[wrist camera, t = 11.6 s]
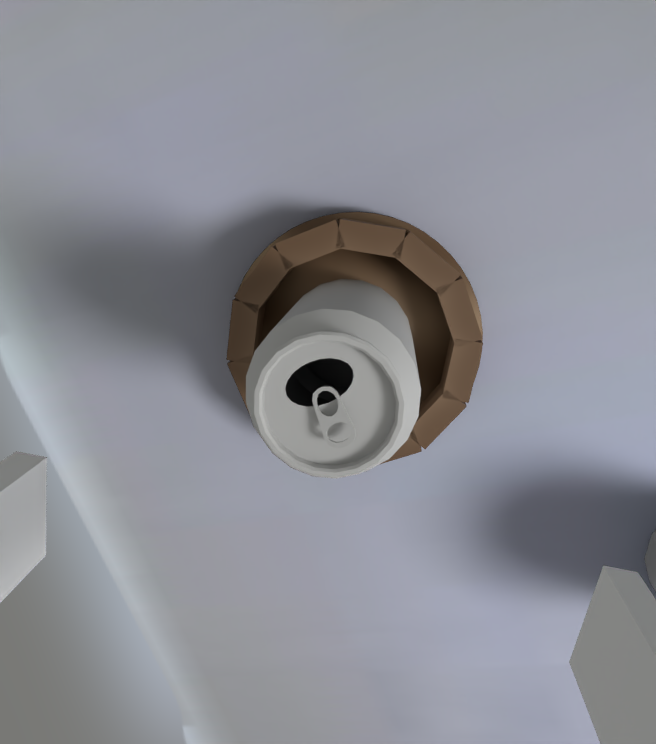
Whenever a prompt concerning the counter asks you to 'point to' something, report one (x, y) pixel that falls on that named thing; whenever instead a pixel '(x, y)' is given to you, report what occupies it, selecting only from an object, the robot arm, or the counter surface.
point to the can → (336, 381)
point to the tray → (391, 273)
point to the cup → (651, 560)
